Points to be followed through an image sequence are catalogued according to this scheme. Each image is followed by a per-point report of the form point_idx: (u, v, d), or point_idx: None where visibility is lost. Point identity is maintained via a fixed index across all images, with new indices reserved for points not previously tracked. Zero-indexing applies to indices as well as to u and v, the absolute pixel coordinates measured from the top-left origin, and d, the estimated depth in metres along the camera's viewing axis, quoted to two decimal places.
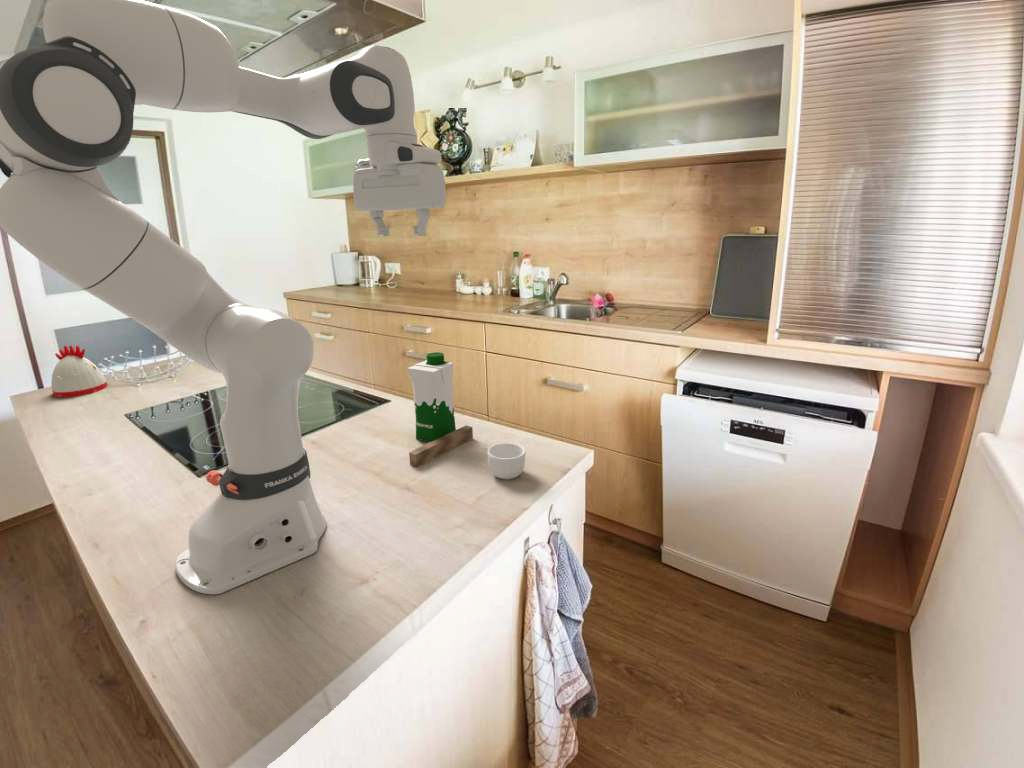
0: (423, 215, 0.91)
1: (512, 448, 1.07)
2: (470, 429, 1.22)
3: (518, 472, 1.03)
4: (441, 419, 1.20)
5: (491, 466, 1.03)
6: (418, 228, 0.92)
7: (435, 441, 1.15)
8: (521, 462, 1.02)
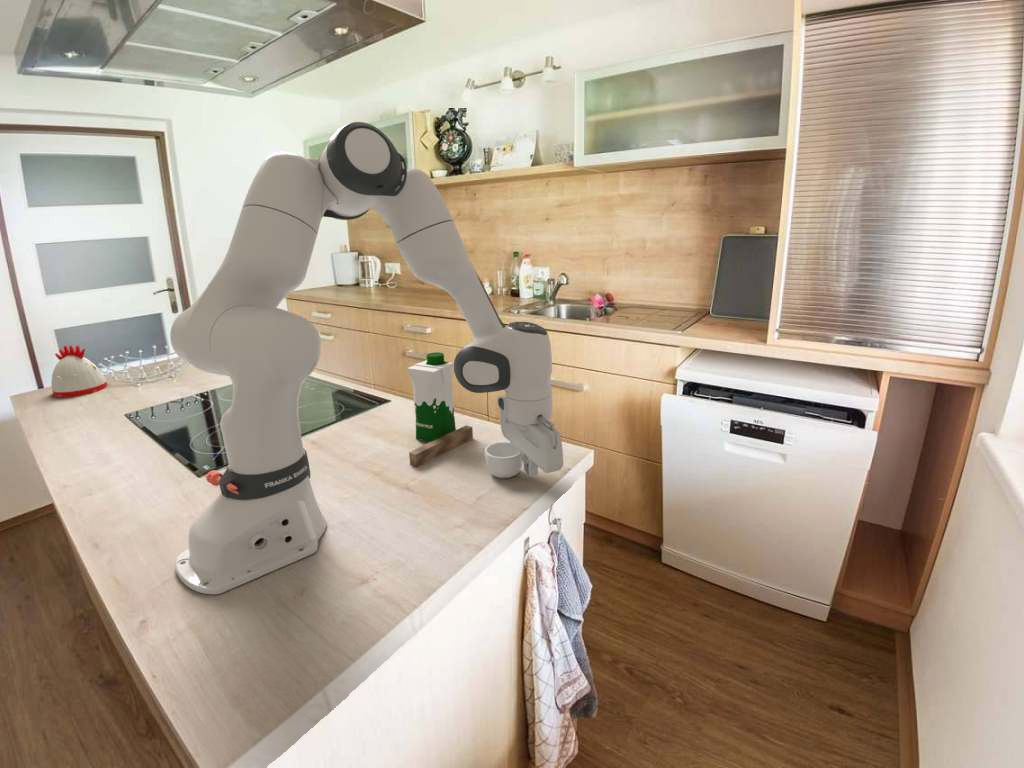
0: None
1: (509, 447, 1.08)
2: (470, 429, 1.22)
3: (516, 471, 1.03)
4: (441, 419, 1.20)
5: (489, 465, 1.03)
6: None
7: (435, 441, 1.15)
8: (519, 461, 1.03)
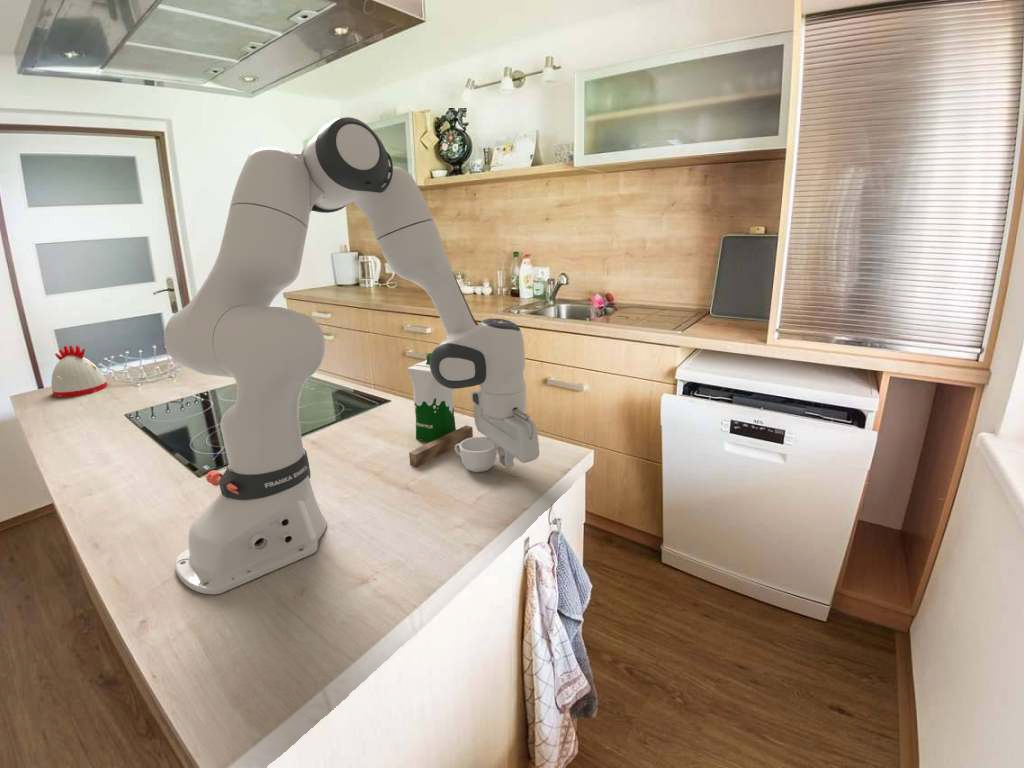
0: None
1: (481, 442, 1.10)
2: (470, 429, 1.22)
3: (492, 463, 1.06)
4: (441, 419, 1.20)
5: (465, 461, 1.05)
6: None
7: (435, 441, 1.15)
8: (494, 453, 1.06)
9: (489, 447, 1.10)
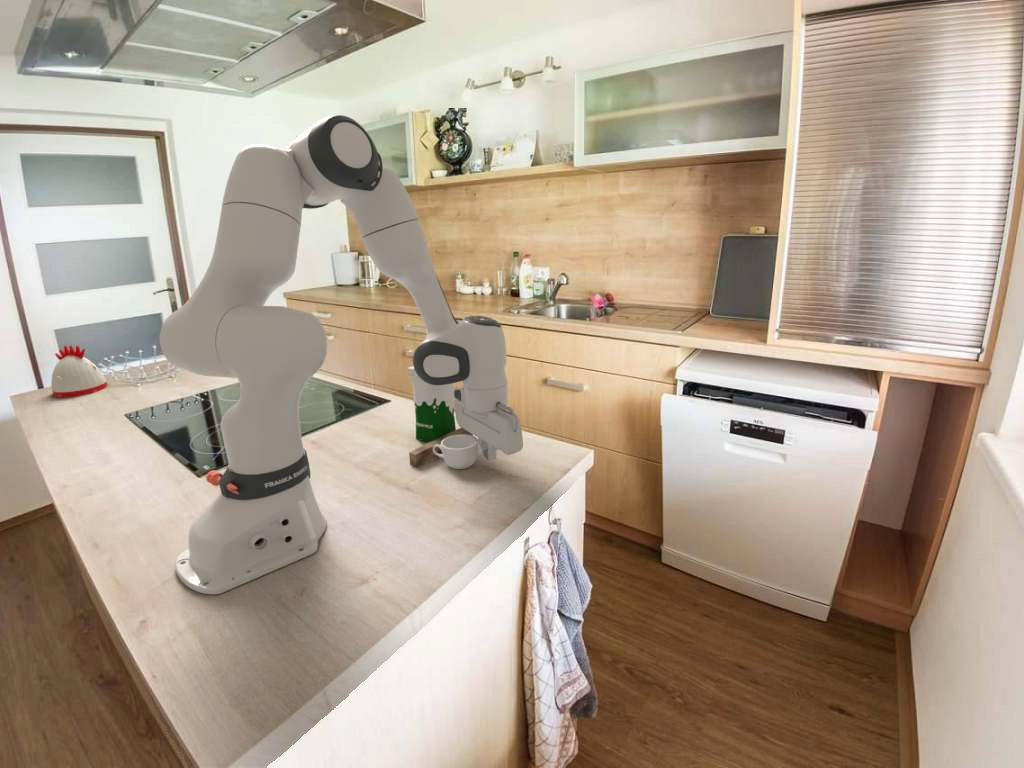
0: None
1: (458, 439, 1.12)
2: None
3: (476, 458, 1.09)
4: (441, 419, 1.20)
5: (452, 459, 1.06)
6: None
7: (435, 441, 1.15)
8: (477, 448, 1.09)
9: (467, 443, 1.12)
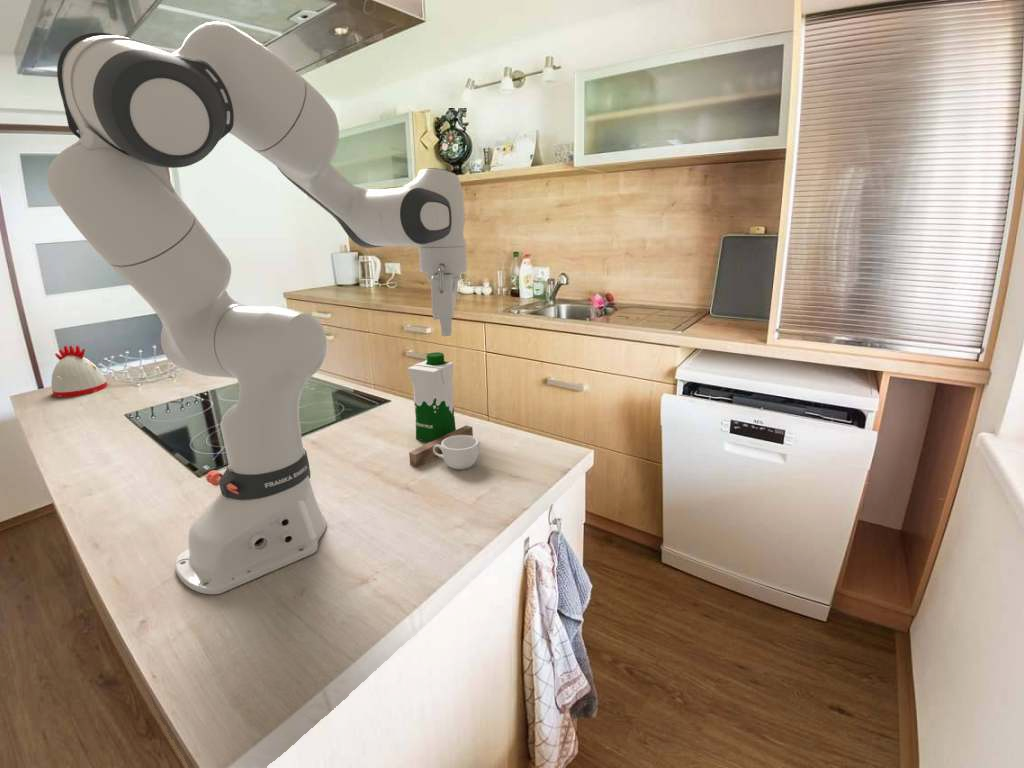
0: None
1: (458, 440, 1.12)
2: (470, 429, 1.22)
3: (476, 458, 1.09)
4: (441, 419, 1.20)
5: (452, 459, 1.06)
6: None
7: (435, 441, 1.15)
8: (477, 448, 1.09)
9: (467, 444, 1.12)
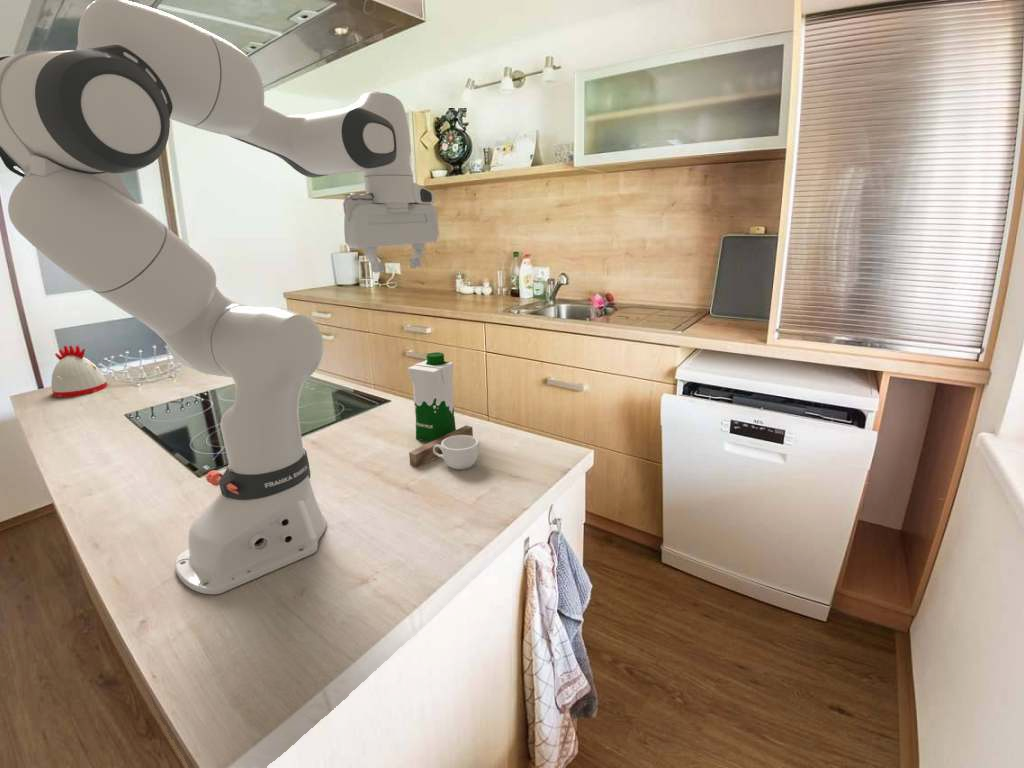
0: None
1: (458, 440, 1.12)
2: (470, 429, 1.22)
3: (476, 458, 1.09)
4: (441, 419, 1.20)
5: (452, 459, 1.06)
6: (420, 260, 1.03)
7: (435, 441, 1.15)
8: (477, 448, 1.09)
9: (467, 444, 1.12)
